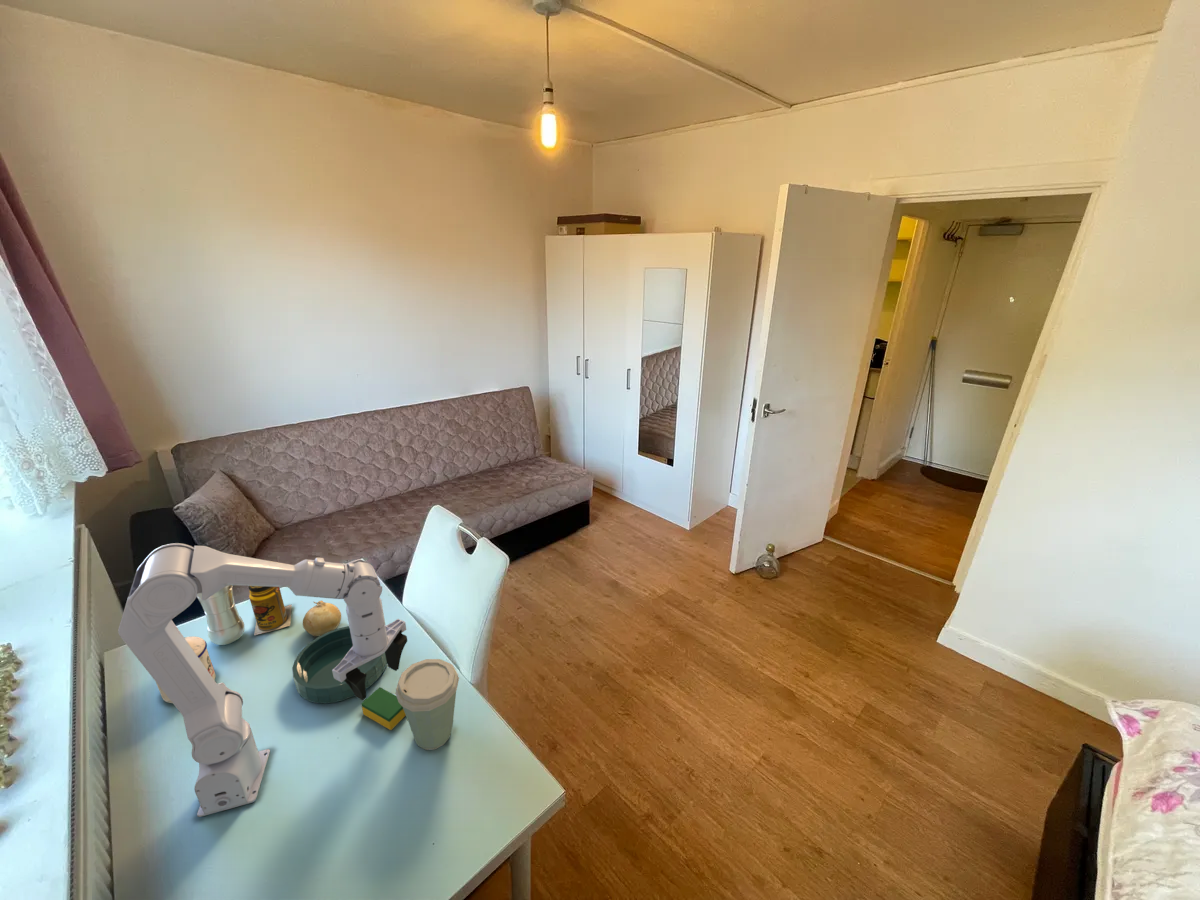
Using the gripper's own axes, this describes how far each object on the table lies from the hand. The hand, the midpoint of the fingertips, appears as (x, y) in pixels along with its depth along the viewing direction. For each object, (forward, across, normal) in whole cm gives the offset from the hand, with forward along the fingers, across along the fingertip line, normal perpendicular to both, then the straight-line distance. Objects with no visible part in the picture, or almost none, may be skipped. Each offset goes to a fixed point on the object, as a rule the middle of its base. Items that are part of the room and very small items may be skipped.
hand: (377, 682), depth 93 cm
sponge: (+8, 0, 0) cm, 8 cm away
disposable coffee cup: (+8, -1, +12) cm, 15 cm away
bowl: (+8, -4, -16) cm, 18 cm away
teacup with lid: (+8, +13, -41) cm, 44 cm away
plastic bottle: (+8, +2, -47) cm, 48 cm away
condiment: (+8, -7, -44) cm, 45 cm away
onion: (+8, -10, -31) cm, 33 cm away
